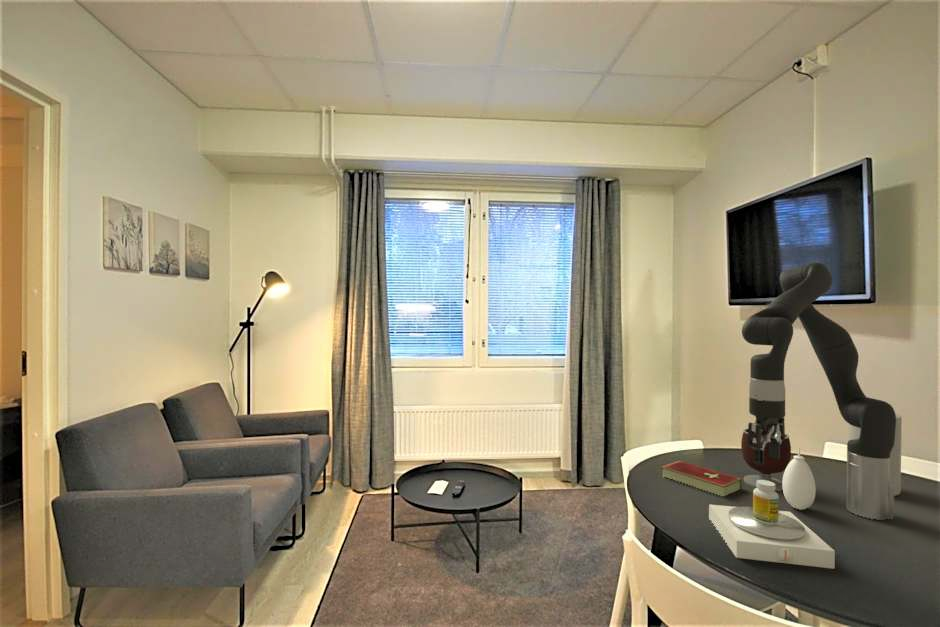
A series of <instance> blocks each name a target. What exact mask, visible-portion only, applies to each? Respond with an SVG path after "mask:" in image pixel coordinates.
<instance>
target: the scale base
mask: <svg viewBox="0 0 940 627" xmlns="http://www.w3.org/2000/svg"><path fill="white" fill-rule="evenodd" d="M708 505H709V506H708V520H709V521H710V520H711V521H712V522H711V521H710V522H711V524H712V523H713V524H714V525H713V524H712V525H713V527H714V526H715V527H716V528H715V527H714V528H715V529H716V530H718V531H719V532H718V531H717V532H718V534H719V533H720V534H721V535H720V534H719V535H720V537H721V538H722V537H723V538H722V539H723V541H724V540H725V541H724V542H725V543H727V544H726V545H727V546H728V548H729V549H730V551H731V552H732V554H733V555H734V556H735V558H737V559H745V560H753V561H764V562H771V563H780V564H781V563H782V564H789V565H799V566H807V567H813V568H814V567H817V568H824V569H834V570H835V563H836V561H835V560H836V558H835V557H836V552H835V550H834V549H833V548H832V547H831V546H830V545H829V544H828V543H826V542H825V540H823V539H822V538H820V537H819V536H818V534H816V533H815V532H814V531H813V530H812V529H810V528H809V527H808V526H807V525H806V524H804V522H802V521H801V520H800V519H799V518H798V517H797V516H796V515H794V514H793V513H792V512H791V511H785V510H778V513H781V514H784V515H786V516H789V517H791V518H793V519H795V520H796V521H798V522H799V523H801V524H802V525H803V526H804V528H805V536H804V537H803V538H801V539H797V540H778V539H772V538H767V537H763V536H759V535H756V534H753V533H750V532H748V531H746V530H743V529H741V528H740V527H738V526H736V525H735V524H734V523H732V522H731V521H730V519H729V511H730V510H731V509H732V508H736V507H737V506H731V505H720V504H718V505H717V504H710V503H709V504H708Z"/></svg>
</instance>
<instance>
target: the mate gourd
mask: <svg viewBox="0 0 940 627" xmlns="http://www.w3.org/2000/svg"><path fill="white" fill-rule="evenodd" d="M752 442H753V438H752ZM769 443H770V442H768V443H766V445H765V448H764V465H762V466H761V465H757V464H754V463H753V448H752V447H748V427H747V428H744V429H743V433H742V436H741V445H740V447H741V455H742V458H743V461H745V463H746V464H747V465H748V467H750V468H751V469H753V470H755V471H757V472H759V475H758V474H749V475H748V474H747V475H744V477H743V482H745V484H747V485H749V486H751V487H753V488H757V486H756V481H757V480H767V481H770V482H773V483H775V487H776V489H775V492H782V491H781V490H783V487H782V481H783V480H780V479H777V478H774V477H771V476H772V474H778V473H784V472H785V469H786V467H787V466H788V464H789V463H790V461H791V457H792V446H791V440H790V435H789V434H787V433H785V440H784V441H783V440H782V443H781V444H780V458H779V459H775V458H771V457H770V456H769Z"/></svg>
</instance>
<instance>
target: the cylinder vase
mask: <svg viewBox="0 0 940 627" xmlns="http://www.w3.org/2000/svg"><path fill="white" fill-rule="evenodd" d="M895 415H896V429H895V441H894V446H893V448H892V450H891V452H890V484H892V485H893V486H894V495H897V496H899V495H900V494H901V491H902V490H901V489H902V487H901V486H902V485H901V483H902V481H901V479H902V478H901V477H902V473H901V472H902V423H903V422H902V419H903V418H902V415H900V414H898V413H895ZM860 431H861V428H858V427H855V426H853V425H850V424H849V436H848V437H849V440H853V439H859V437H860ZM849 440H848V441H849ZM898 494H899V495H898Z"/></svg>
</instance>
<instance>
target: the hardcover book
mask: <svg viewBox="0 0 940 627" xmlns="http://www.w3.org/2000/svg"><path fill="white" fill-rule="evenodd" d="M660 467H661V469H662V477H663V478H664V477H667V478H669V479H668V480H670V479H673V480H676V481H675V482H677V481H679V482H678V483H680V482H682V483H681V484H683V483H685V484H684V485H686V484H688V485H687V486H689V485H691V486H690V487H692V486H694V487H693V488H695V487H696V488H695V489H698V488H699V489H698V490H701V489H702V490H701V491H704V490H705V491H704V492H707V491H708V492H707V493H710V492H711V493H710V494H713V493H714V494H713V495H716V494H717V495H716V496H719V495H720V496H719V497H722V496H723V497H722V498H725V497H727V496H728V494H729V495H730V493H731V494H732V493H735V492H736V491H739V490H742V488H743V481H742V478H740V477H737V476H733V475H730V474H726V473H723V472H720V471H719V472H718V471H717V470H712V469H710V468H709V469H708V468H706V467H702V466H699V465H695V464H692V463H688V462H685V461H681V460H677V461H675V462H672V463H669V464H666V465H663V466H660ZM667 478H666V479H667ZM673 480H672V481H673ZM726 495H727V496H726ZM724 496H725V497H724Z"/></svg>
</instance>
